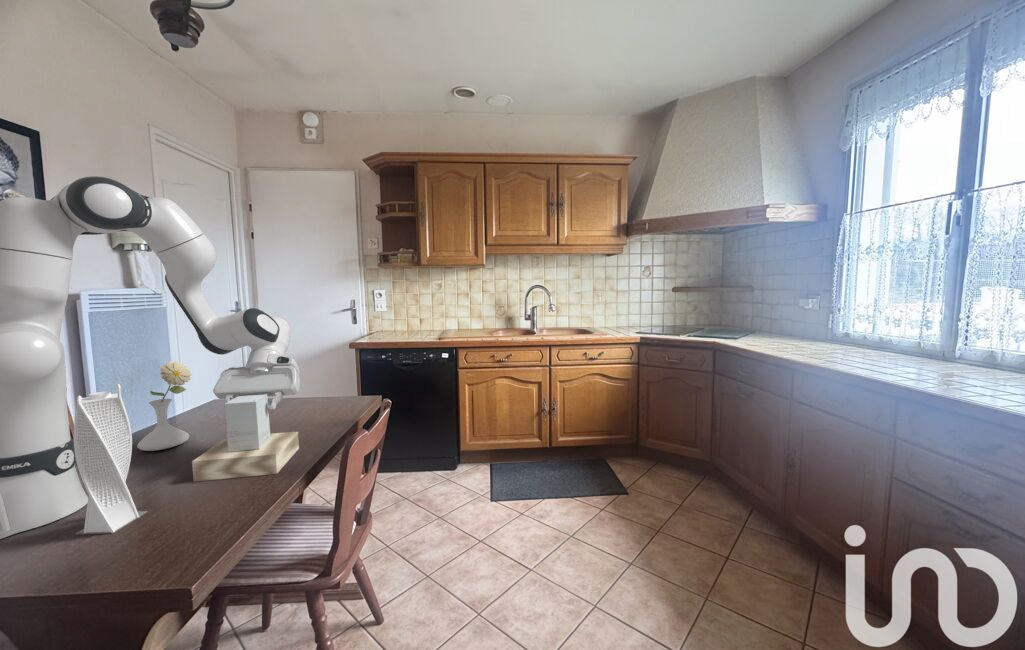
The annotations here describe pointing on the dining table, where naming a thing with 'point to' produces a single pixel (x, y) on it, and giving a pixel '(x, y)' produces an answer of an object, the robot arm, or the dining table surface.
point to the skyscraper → (104, 461)
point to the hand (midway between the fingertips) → (251, 409)
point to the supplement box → (247, 422)
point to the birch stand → (246, 459)
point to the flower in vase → (164, 432)
